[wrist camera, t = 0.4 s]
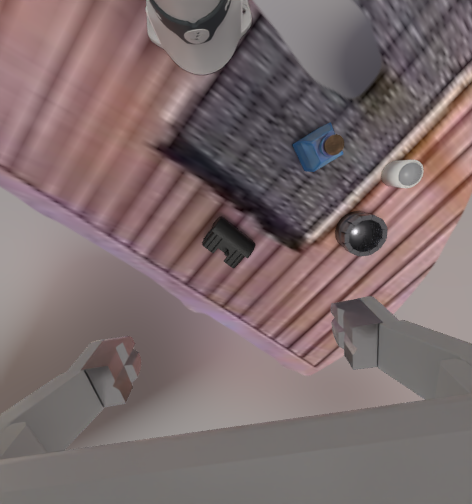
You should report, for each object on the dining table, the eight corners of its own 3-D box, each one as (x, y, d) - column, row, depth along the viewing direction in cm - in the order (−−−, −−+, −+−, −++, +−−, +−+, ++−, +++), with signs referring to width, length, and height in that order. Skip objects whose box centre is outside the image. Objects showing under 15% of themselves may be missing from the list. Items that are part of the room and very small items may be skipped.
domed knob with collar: (335, 213, 55) (345, 218, 50) (375, 208, 54) (389, 212, 50) (334, 250, 58) (343, 258, 53) (372, 246, 57) (385, 253, 53)
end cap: (254, 239, 57) (257, 248, 50) (235, 260, 58) (236, 271, 52) (221, 213, 54) (220, 219, 48) (203, 235, 56) (199, 244, 50)
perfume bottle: (304, 171, 51) (324, 172, 40) (292, 144, 50) (309, 137, 38) (330, 155, 50) (358, 152, 39) (318, 127, 49) (344, 115, 37)
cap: (382, 162, 51) (398, 161, 46) (407, 158, 51) (426, 158, 46) (380, 187, 53) (395, 189, 48) (404, 184, 53) (422, 186, 48)
